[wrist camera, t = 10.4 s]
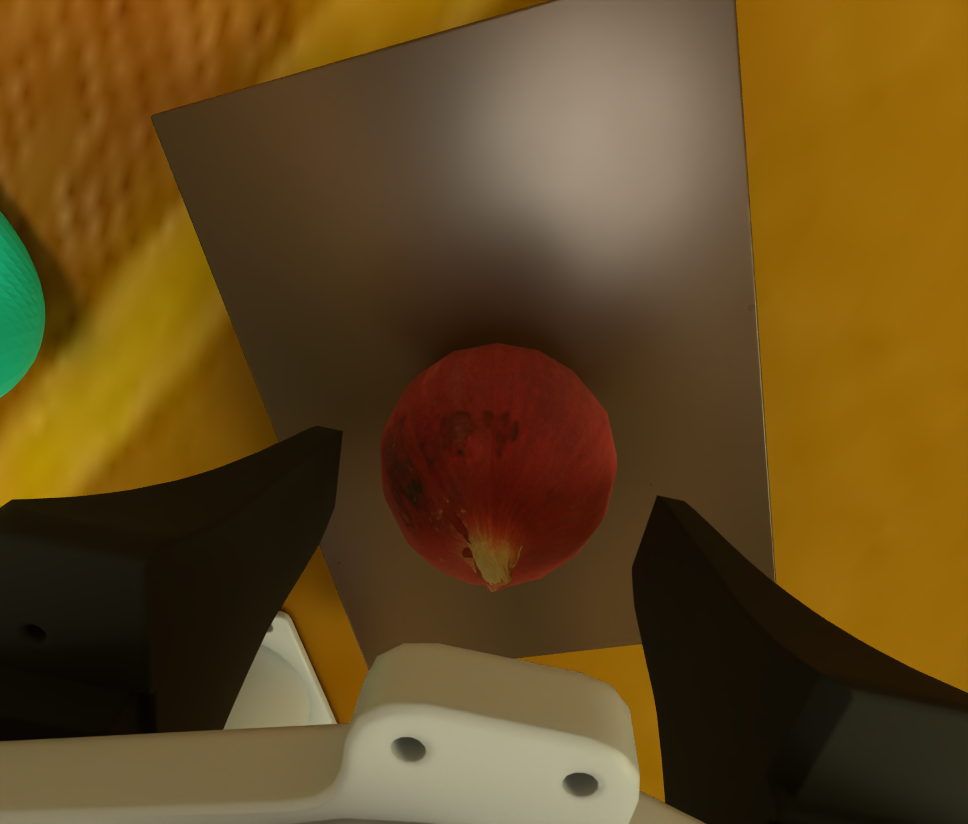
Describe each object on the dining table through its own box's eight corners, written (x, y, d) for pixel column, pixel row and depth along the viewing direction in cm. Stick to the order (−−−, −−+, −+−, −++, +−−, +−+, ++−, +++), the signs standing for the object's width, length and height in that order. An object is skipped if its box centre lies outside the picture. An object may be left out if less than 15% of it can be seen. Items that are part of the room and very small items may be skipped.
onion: (381, 435, 20) (288, 606, 13) (463, 274, 18) (408, 370, 10) (541, 515, 21) (540, 721, 13) (639, 371, 18) (703, 524, 11)
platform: (387, 621, 27) (370, 676, 24) (203, 118, 19) (148, 115, 17) (753, 573, 24) (779, 628, 22) (702, -23, 17) (732, -54, 14)
